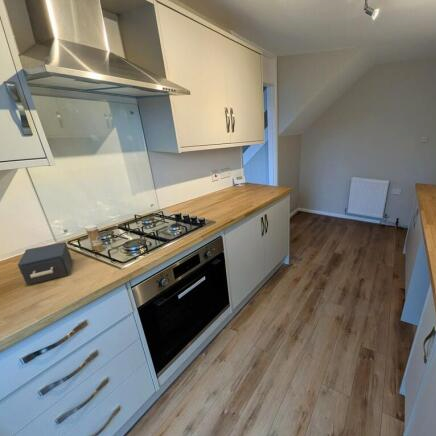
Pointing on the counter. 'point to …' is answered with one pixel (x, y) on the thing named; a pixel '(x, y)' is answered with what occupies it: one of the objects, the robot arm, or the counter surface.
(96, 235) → the sprinkles bottle
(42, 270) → the drawer
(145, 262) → the counter surface
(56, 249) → the cabinet
